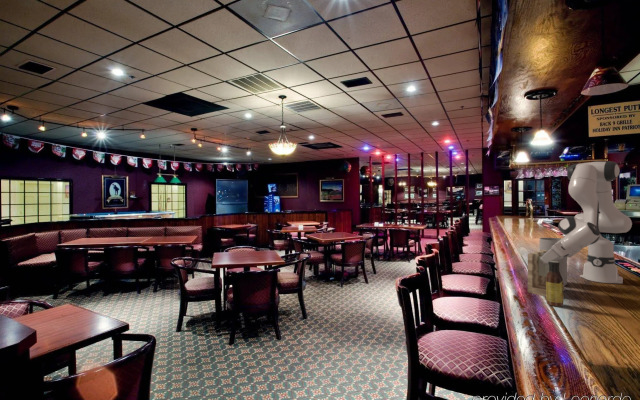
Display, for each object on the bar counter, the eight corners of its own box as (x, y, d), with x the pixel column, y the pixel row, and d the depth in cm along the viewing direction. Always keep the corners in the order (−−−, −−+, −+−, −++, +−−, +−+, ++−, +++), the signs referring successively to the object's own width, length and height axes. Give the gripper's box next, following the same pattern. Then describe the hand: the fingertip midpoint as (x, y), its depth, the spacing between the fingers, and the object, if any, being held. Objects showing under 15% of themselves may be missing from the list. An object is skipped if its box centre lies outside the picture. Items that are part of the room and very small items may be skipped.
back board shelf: (542, 286, 171) (542, 249, 171) (564, 290, 163) (564, 252, 163) (527, 292, 161) (527, 253, 161) (550, 297, 153) (550, 256, 152)
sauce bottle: (566, 307, 139) (566, 263, 139) (550, 306, 140) (550, 262, 140) (558, 302, 146) (558, 260, 145) (543, 301, 147) (543, 259, 147)
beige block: (542, 274, 166) (542, 252, 166) (550, 275, 163) (550, 253, 163) (538, 275, 163) (538, 253, 163) (546, 276, 161) (546, 254, 160)
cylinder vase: (543, 284, 174) (543, 240, 173) (537, 279, 185) (537, 237, 185) (570, 287, 169) (570, 241, 169) (562, 281, 181) (562, 238, 180)
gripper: (567, 241, 163) (546, 257, 172) (552, 245, 152) (529, 261, 160) (578, 251, 160) (555, 266, 168) (563, 255, 148) (539, 272, 156)
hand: (542, 264), depth 164 cm, fingers closed on beige block, 5 cm apart
